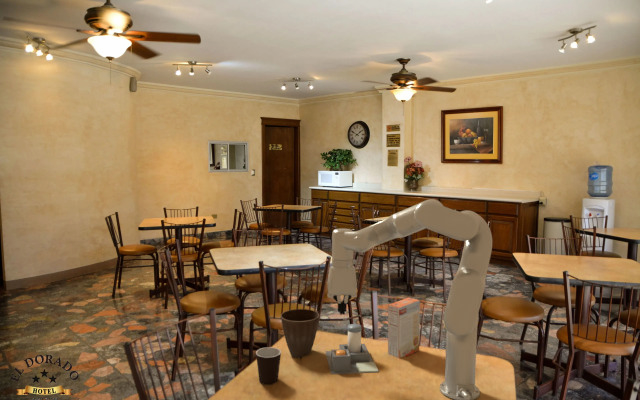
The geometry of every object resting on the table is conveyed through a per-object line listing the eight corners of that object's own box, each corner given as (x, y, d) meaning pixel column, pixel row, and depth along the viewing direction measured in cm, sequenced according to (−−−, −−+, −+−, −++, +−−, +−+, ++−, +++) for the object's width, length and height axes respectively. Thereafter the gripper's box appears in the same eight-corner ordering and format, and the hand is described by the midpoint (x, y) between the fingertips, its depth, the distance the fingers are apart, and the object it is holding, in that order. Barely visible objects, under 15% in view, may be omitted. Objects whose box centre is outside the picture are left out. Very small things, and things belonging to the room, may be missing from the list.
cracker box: (407, 346, 191) (408, 296, 190) (419, 350, 187) (421, 299, 185) (386, 356, 182) (387, 303, 180) (399, 360, 177) (400, 307, 176)
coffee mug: (274, 388, 155) (274, 359, 154) (251, 383, 158) (251, 355, 157) (288, 373, 166) (288, 346, 165) (266, 369, 169) (266, 342, 168)
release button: (346, 364, 167) (346, 353, 167) (336, 364, 167) (336, 354, 166) (344, 360, 171) (344, 349, 170) (335, 360, 170) (335, 349, 170)
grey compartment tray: (378, 375, 165) (379, 357, 165) (331, 376, 163) (331, 359, 163) (367, 352, 185) (367, 336, 184) (325, 353, 183) (325, 337, 183)
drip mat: (378, 371, 166) (378, 370, 165) (359, 372, 165) (359, 371, 165) (374, 363, 172) (374, 362, 172) (355, 364, 172) (355, 362, 172)
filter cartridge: (362, 359, 176) (362, 328, 175) (348, 359, 175) (348, 328, 174) (359, 353, 181) (360, 323, 180) (346, 354, 181) (346, 324, 180)
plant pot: (291, 365, 172) (291, 323, 171) (274, 351, 185) (274, 312, 184) (325, 357, 180) (326, 317, 178) (307, 344, 193) (307, 306, 191)
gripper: (361, 260, 171) (360, 309, 172) (320, 261, 169) (320, 310, 171) (365, 265, 163) (364, 316, 165) (322, 265, 162) (322, 317, 163)
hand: (341, 313), depth 168 cm, fingers closed
